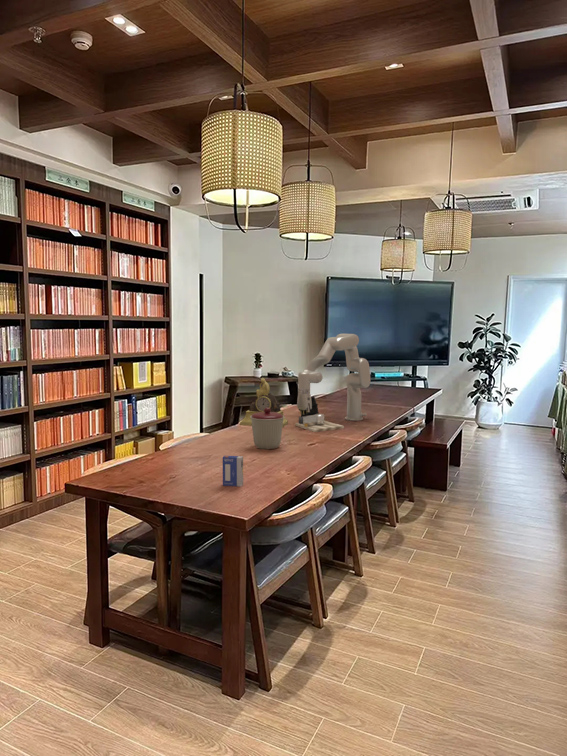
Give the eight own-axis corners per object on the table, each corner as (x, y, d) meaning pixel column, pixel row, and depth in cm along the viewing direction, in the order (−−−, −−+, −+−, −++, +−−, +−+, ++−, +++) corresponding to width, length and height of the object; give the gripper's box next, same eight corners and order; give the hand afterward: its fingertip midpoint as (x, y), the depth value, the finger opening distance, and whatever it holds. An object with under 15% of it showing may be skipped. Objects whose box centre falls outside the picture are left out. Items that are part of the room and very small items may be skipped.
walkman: (222, 485, 208) (222, 456, 207) (224, 483, 211) (224, 454, 210) (241, 486, 207) (241, 457, 206) (243, 484, 210) (243, 455, 209)
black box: (322, 416, 357) (313, 396, 358) (305, 423, 361) (296, 403, 362) (323, 415, 361) (314, 395, 361) (306, 422, 365) (297, 402, 365)
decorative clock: (240, 425, 333) (239, 378, 330) (246, 421, 345) (246, 376, 342) (282, 428, 325) (282, 380, 322) (287, 424, 338) (288, 378, 334)
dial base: (323, 422, 343) (323, 417, 342) (344, 428, 324) (344, 423, 324) (295, 425, 331) (295, 420, 331) (315, 432, 313) (315, 426, 312)
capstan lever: (319, 422, 332) (319, 413, 331) (326, 424, 327) (326, 414, 326) (296, 426, 320) (296, 416, 319) (302, 427, 315) (302, 418, 315)
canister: (262, 441, 286) (262, 403, 284) (290, 446, 277) (291, 406, 275) (243, 448, 270) (243, 408, 268) (272, 453, 261) (272, 411, 259)
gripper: (316, 392, 322) (315, 421, 324) (302, 389, 334) (302, 418, 336) (306, 393, 318) (305, 423, 320) (292, 390, 330) (292, 419, 332)
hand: (303, 420), depth 328 cm, fingers closed
